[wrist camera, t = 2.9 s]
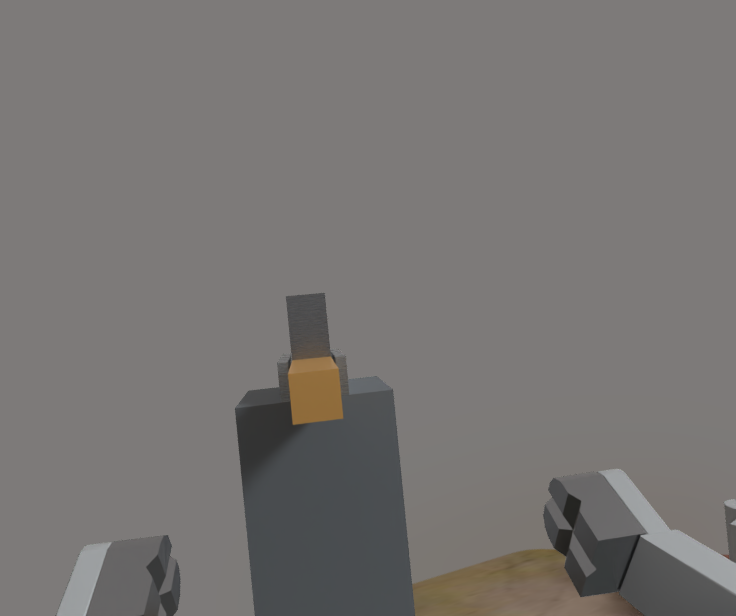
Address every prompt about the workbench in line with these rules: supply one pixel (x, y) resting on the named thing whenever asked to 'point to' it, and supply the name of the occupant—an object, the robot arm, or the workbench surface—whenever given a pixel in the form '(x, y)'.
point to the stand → (325, 503)
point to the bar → (312, 362)
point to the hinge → (731, 527)
